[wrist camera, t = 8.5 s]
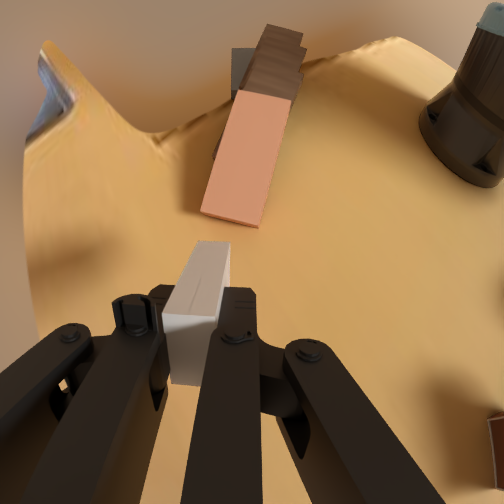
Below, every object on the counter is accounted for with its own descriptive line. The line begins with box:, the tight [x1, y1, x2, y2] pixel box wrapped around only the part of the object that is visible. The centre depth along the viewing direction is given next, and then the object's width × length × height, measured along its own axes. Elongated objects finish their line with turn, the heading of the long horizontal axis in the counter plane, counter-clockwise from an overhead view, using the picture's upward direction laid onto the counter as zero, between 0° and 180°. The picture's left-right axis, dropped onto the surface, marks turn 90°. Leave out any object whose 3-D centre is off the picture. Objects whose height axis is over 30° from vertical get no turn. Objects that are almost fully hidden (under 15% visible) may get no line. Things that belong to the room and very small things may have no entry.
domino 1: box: [239, 24, 303, 90], centre depth 33 cm, size 2×5×12 cm
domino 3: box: [231, 48, 256, 99], centre depth 37 cm, size 2×5×12 cm
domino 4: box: [212, 60, 304, 161], centre depth 29 cm, size 2×5×12 cm
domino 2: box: [241, 36, 307, 90], centre depth 31 cm, size 2×5×12 cm
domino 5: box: [200, 90, 291, 228], centre depth 27 cm, size 2×5×12 cm
